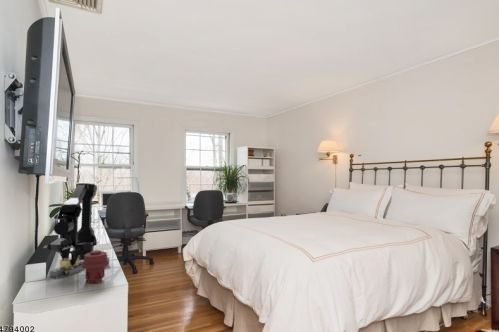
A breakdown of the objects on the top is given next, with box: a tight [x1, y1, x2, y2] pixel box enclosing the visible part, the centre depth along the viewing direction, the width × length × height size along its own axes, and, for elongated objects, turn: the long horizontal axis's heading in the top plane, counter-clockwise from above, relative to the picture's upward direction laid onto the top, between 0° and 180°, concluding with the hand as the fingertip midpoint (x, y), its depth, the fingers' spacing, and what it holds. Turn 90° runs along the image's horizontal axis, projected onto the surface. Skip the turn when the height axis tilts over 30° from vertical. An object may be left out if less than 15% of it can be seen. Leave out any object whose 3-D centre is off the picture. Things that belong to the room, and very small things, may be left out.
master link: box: [59, 256, 80, 271], centre depth 131 cm, size 7×4×5 cm, turn 170°
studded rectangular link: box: [49, 259, 85, 279], centre depth 130 cm, size 16×9×3 cm, turn 168°
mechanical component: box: [81, 249, 110, 284], centre depth 119 cm, size 12×10×10 cm
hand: (69, 264), depth 131 cm, fingers closed on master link, 3 cm apart
